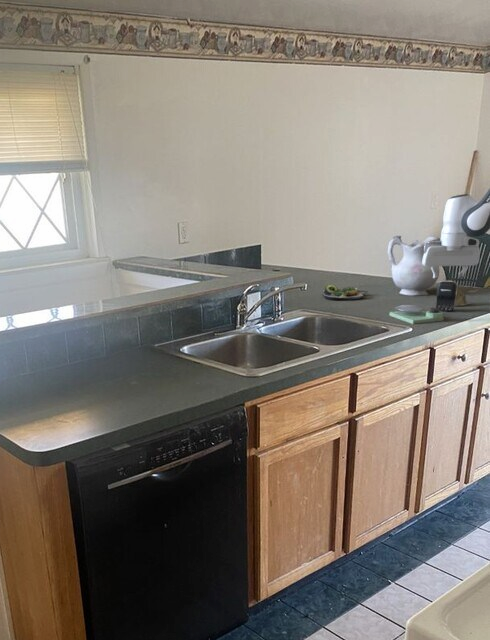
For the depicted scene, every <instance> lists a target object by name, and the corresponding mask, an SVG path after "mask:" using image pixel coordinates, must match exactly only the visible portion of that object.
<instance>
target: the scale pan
mask: <svg viewBox="0 0 490 640" xmlns="http://www.w3.org/2000/svg"><path fill="white" fill-rule="evenodd" d="M395 310H396V311H402V312H420V311H423V310H424V307H423V306H421V305H416V304H400V305H397V306H395ZM424 311H425V310H424Z"/></svg>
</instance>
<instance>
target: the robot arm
mask: <svg viewBox="0 0 490 640" xmlns="http://www.w3.org/2000/svg"><path fill="white" fill-rule="evenodd" d="M442 222H443V223H442V224H443V226H442V229H441V232H440V241H429V242H428V243H426V244H425V245H424V255H423V259H422V264H423V265H424V266H425V267H431V270H432V272H433V278H438V279H439V277H440V276H439V275H440V273H439V274H438V273H436V271H435V269H436V268H437V266H438V267H461V268H462V270H461V271H460V272H458V273H457V274H458V275H457V278H459V279H463V278H465V277H464V276H465V274H466V272H467V270H468V269H469V266H477V265H478V264H479V263H480V256H481V250H480V247H479V245H480V240H479V239H478V238H477V237H481V236H484V235H485V234H486V233H487V232H488V231H489V230H490V188H489V189H488V190H487V191H486V193H484V195H483V197H482V198H481V199H480V200H478V199H476V198H474V197H473V196H471V194H468V193H463V194H457V195H453V196H451V197H449V198H448V199H447V201H446V202H445V206H444V209H443V216H442ZM438 276H439V277H438Z"/></svg>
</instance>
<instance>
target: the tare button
mask: <svg viewBox="0 0 490 640" xmlns="http://www.w3.org/2000/svg"><path fill="white" fill-rule="evenodd" d="M429 310H430V313H439V308H436V307H431V308H430V309H429Z"/></svg>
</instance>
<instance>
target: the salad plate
mask: <svg viewBox="0 0 490 640" xmlns="http://www.w3.org/2000/svg"><path fill="white" fill-rule="evenodd" d="M368 292H369V291H368V290H359V289H358V287H353V286H352V287H351V286H347V287H346V286H345V287H343V288H342V289H340V288H338V287H337V286H336V285H334V284H331V283H329V284H326V286H325V287H324V290H323V291H322V292H321V293H322V296H323V298H324V299H325V300H328V301H353V300H354V301H355V300H360V299H361V298H363V297H364V294H366V293H368Z"/></svg>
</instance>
